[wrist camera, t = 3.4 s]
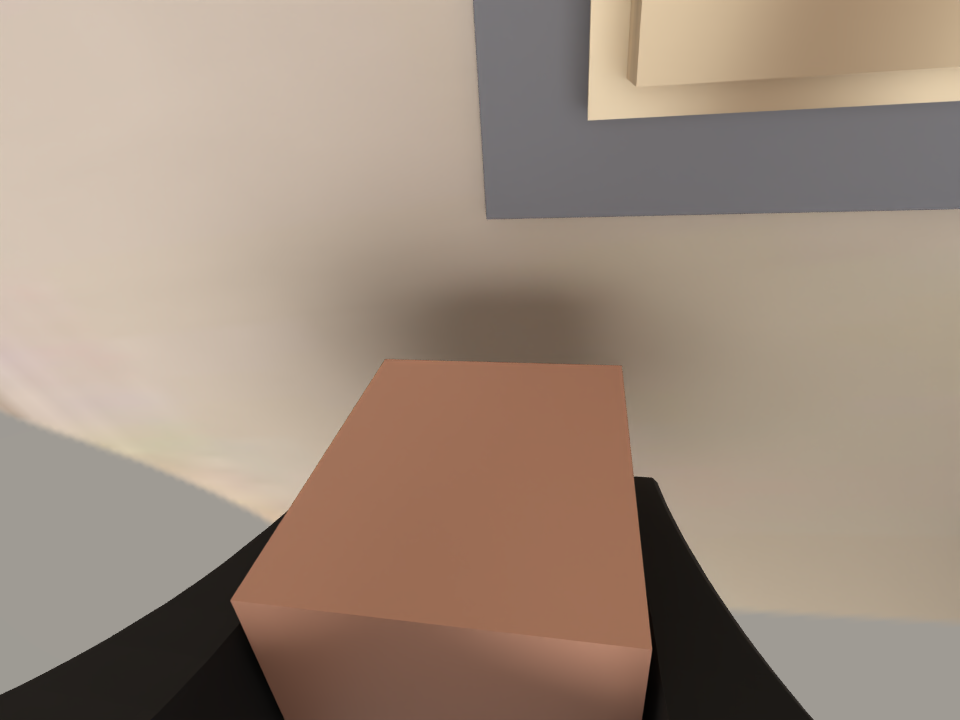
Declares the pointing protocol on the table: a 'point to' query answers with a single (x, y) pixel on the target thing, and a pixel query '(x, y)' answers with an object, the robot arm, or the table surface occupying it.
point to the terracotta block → (461, 554)
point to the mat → (684, 140)
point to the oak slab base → (739, 82)
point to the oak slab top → (787, 38)
